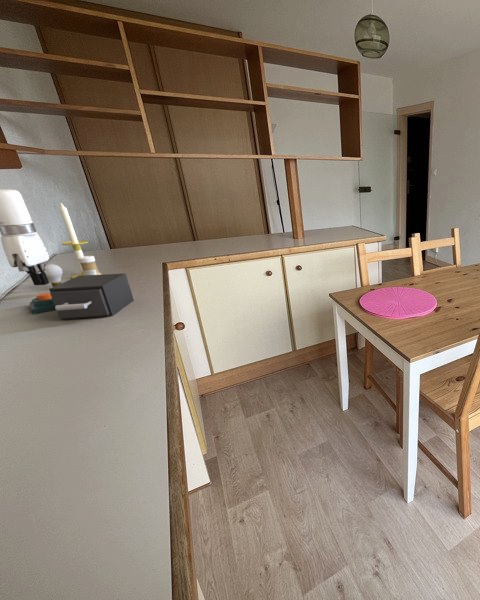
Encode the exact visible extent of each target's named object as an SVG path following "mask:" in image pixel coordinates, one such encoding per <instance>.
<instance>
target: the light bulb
mask: <svg viewBox="0 0 480 600" xmlns="http://www.w3.org/2000/svg"><path fill="white" fill-rule="evenodd" d="M45 270H46V271H45V273H46V276H47V278H48V280H49V283H50V284H51V286H52V287H55V286H57V285H59V284H61V283H62V282H61V281H62V275H63V273H64V272H63V269H62V267H60V266H59V265H56V264H53V263H51V264H50V263H48V264H46V265H45Z"/></svg>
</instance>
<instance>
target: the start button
mask: <svg viewBox="0 0 480 600" xmlns="http://www.w3.org/2000/svg"><path fill="white" fill-rule="evenodd" d="M36 298H38V300H46V299H51V298H52V297H51V295H50V292H43V293H38V294H36Z"/></svg>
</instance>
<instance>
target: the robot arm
mask: <svg viewBox="0 0 480 600" xmlns="http://www.w3.org/2000/svg"><path fill="white" fill-rule="evenodd" d="M0 235H1V237H0V238H1V239H0V241H1V245H2V249H3V251H4V254H5V257H6V259H7V262H8V264H9V266H10V267H11V268H17V269H18V271H19V272H21V273H22V272H26V274H27V275H29V276H30V279H31V281H32V283H33V285H34V286H46V285H48V284H50V281H49V280H48V278H47V276H46V273H45V271H46V270H45V265H48V264H49V260H50V256H49V253H48V250H47V248H46V246H45V244H44V241H43V240H42V238H41V236H40V235H39V234H38V231H37V229H36V226H35V223H34V222H33V219H32V217H31V215H30V212H29V210H28V208H27V205H26V202H25V201H24V197H23V196H22V193H21V192H20V191H18V190H17V189H14V188H0Z"/></svg>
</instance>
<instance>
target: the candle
mask: <svg viewBox="0 0 480 600" xmlns="http://www.w3.org/2000/svg"><path fill="white" fill-rule="evenodd" d="M59 211H60V214H61V217H62V219H63V222H64V225H65V227H66V231H67V233H68V236H69V239H70V240H69V241H64V242H61V245H62V246H72V250H73V252H74V255H75V258H76V260H77V263H78V266H79V269H80V271H81V273H78V274H73V275H72V276H71V279H73V278H75V277H77V276H82V275H84V272H83V269H82V266H81V264H80V262H79V260H78V258H79V257H84V256H85V255H84V253H83V249H82V247H81V245H84V244H88V243H89V240H78V237H77V234H76V231H75V228H74V225H73V222H72V220H71V217H70V214H69V212H68V209H67V207H65V206H64V204H63V203H62V202H60V206H59ZM99 274H100V275H102V272H99Z"/></svg>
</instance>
